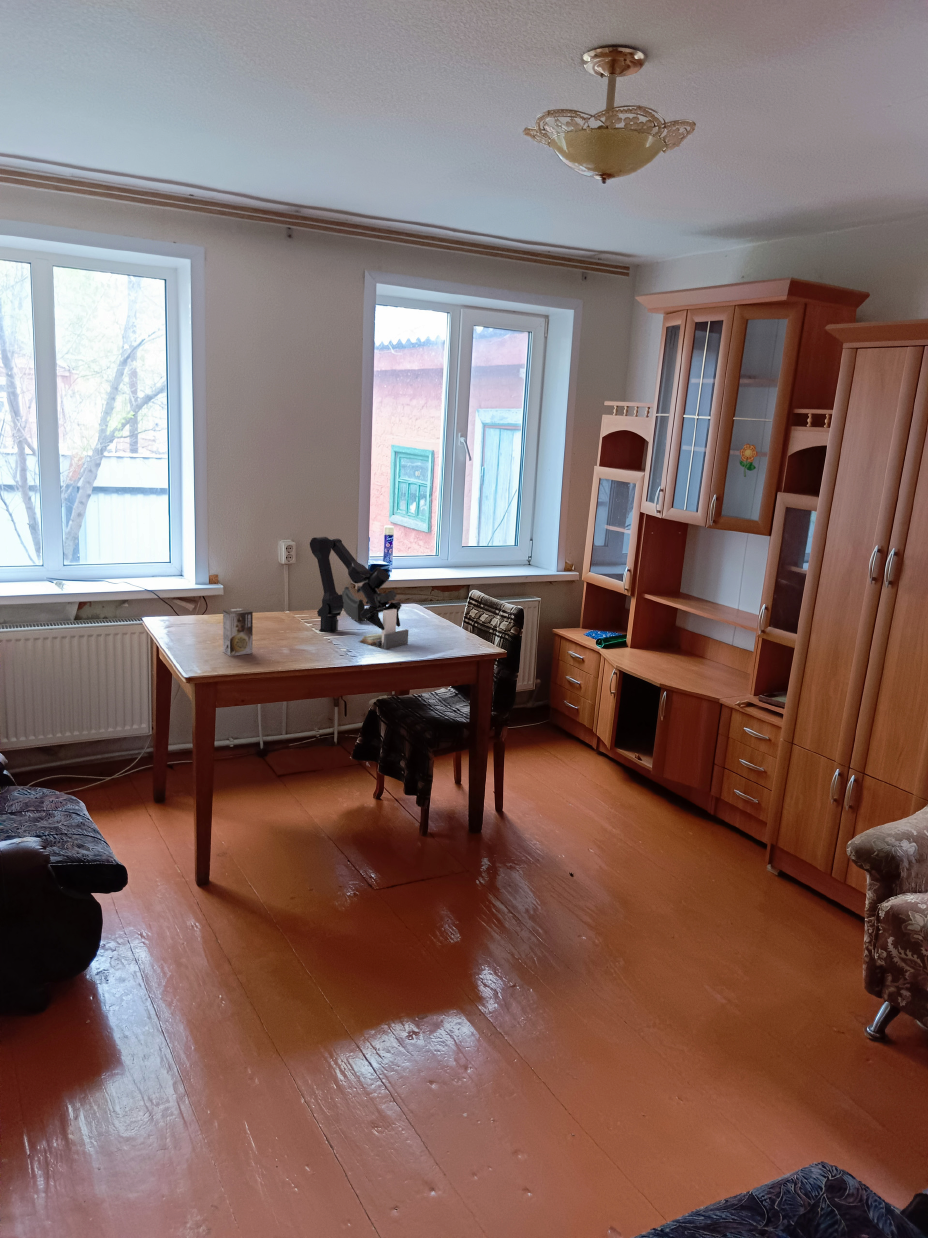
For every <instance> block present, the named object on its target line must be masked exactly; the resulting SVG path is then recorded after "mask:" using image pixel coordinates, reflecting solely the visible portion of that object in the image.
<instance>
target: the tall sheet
mask: <svg viewBox="0 0 928 1238" xmlns="http://www.w3.org/2000/svg"><path fill="white" fill-rule="evenodd" d="M396 616H397V610H396V609H390V610H384V611H383V612H382V624H383V626H384V628H385V629H384V630H381V634H382V642H381V645H382V646H383V642H384V634H387V633H392V632H396V630H397V625H396Z"/></svg>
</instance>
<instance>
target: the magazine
mask: <svg viewBox="0 0 928 1238" xmlns="http://www.w3.org/2000/svg"><path fill="white" fill-rule="evenodd" d="M341 595H342V597H343V602H344V604H343V609H342V610H343V611H344V612H345V613H346V615H347V616H348V617H349V618H350V617H351V618H350V619H351V620H353V619H354V620H353V621H356V622H359V623H364V622H366V619H365V620H363V619H362V618H361V612H362V611H363V610H364V609H365V608H366V605H365V603H364V600H363V599H359V598H357V597H355V596H354V594H353V593H352V592H351V590H350V587H348V586H345V587H344V590H342V593H341Z"/></svg>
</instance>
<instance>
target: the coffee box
mask: <svg viewBox="0 0 928 1238" xmlns="http://www.w3.org/2000/svg"><path fill="white" fill-rule="evenodd" d="M253 613H254V611H253V610H251V609H249V608H247V607H243V608H242V607H240V608H232V609H231V608H230V609H223V611H222V615H223V616H222V620H223V621H222V628H223V629H222V636H223V637H222V652H223V653H224V654H226V655H227V656H229V657H232V656H241V655H246V654H253V644H254V643H253V640H254V639H253V628H254V627H253V625H254V624H253V622H254V621H253V617H254V614H253Z"/></svg>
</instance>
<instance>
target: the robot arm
mask: <svg viewBox="0 0 928 1238" xmlns="http://www.w3.org/2000/svg"><path fill="white" fill-rule="evenodd" d="M309 548H310V551H311V553H312V555H313V556H314V557H315V558H316V560H317V565H318V569H319V575H320V579H321V583H322V584H321V585H322V591H323V596H322V600H321V607H320V608H318V610H316V611H317V617H320V624H319V625H320V627H319V628H320V629H319V630H318V631H319V632H326V633H335V632H336V631H338V630H339V619H338V617H339V616H341V614H342V611H343V610H344V609H343V604H344V602H343V597H342V593H341V594H339V593H338V592H337V590H336V584H335V579H334V574H333V570H332V566H331V561H330V560H331V559H330V556H331V553H332V552H333V553H334V554H335V556H336V557H338V558H337V559H339V560H340V562H341V563H342V564H343V565H344V566H345V568H346V570H347V574H348V577H349V578H350V580H351V581H352V583H353V584H361V585H358V586H357V590H356V593H357V594H358V593H362V595H363V596H364V598H365V599H366V600H365V604H366V605H367V606H365V609H364V610H363V611H362V612H361V618H362V619H363V620H365V622H368V623H371V624H372V625H374V626H375V627H377V628H378V629H380V630H381V631H382V630H384V629H385V628H384V626H383V621H382V620H381V618H380V616H379V614H380V613H383V611H384V610H390V609H396V610H397V616H396V627H397V628H399V627H400V626H401V621H400V617H399V611H400V609H401V608H402V607H403V606H402V603H401V602H400V601H396V598H397V593H396V591H395V590H393V589H392V590H389V591H387V592H385V593H383V592H379V590H380V589H381V588H382V587H384V585H385V584H386V583H387V582H388V581H389V580H390V575H389V573H388V572H387V571H385V570H384V569H382V568H381V567H379V566H378V567H375V569H373V571H370V570H369V569H368V568H367V567H366V566H365V565H364V564H362V563H360V562H358V560H357V559H356V558H355V557H354V556H353V555H352V554H351V552H350V551H349V549H348V548H347V547H346V546H345V545H344V543H343V541H342V540H341V538H329V537H328V536H318V537H317V536H316V537H314V536H313V537H312V538H311V539H310V542H309ZM368 605H369V606H368Z"/></svg>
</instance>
